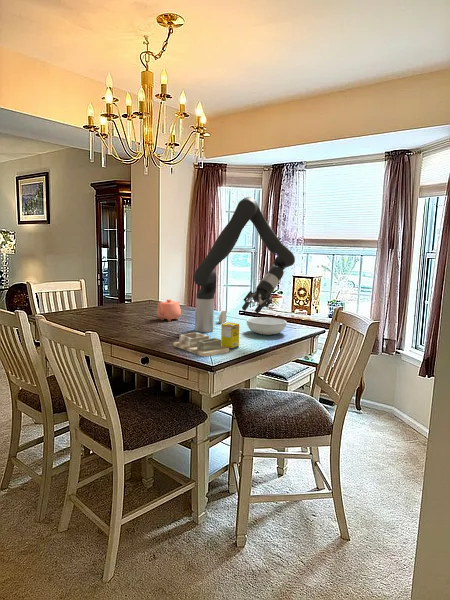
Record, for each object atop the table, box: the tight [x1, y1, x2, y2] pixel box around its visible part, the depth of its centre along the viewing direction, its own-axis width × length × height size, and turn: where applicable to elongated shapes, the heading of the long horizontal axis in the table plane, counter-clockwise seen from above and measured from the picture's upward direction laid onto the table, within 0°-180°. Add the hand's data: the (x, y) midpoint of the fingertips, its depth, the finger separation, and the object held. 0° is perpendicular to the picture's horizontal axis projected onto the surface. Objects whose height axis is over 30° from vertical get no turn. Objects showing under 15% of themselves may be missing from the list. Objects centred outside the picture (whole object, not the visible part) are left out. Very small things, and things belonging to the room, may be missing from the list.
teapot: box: [156, 298, 182, 322], centre depth 246 cm, size 20×12×12 cm, turn 148°
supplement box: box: [220, 321, 240, 351], centre depth 187 cm, size 6×6×11 cm
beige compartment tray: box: [173, 331, 230, 358], centre depth 184 cm, size 22×14×5 cm, turn 41°
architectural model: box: [216, 310, 228, 325], centre depth 242 cm, size 3×7×7 cm, turn 153°
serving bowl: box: [246, 316, 287, 336], centre depth 218 cm, size 21×21×7 cm
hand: (249, 311), depth 193 cm, fingers open, 8 cm apart
